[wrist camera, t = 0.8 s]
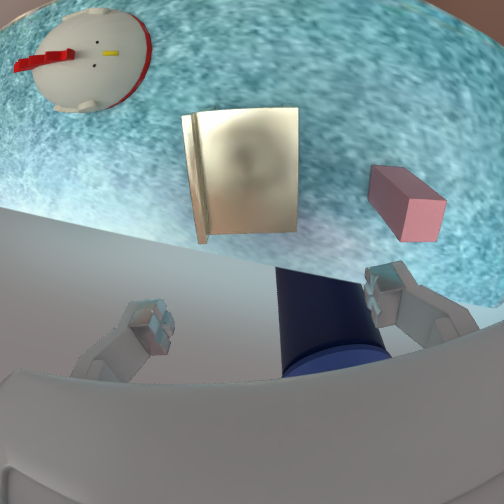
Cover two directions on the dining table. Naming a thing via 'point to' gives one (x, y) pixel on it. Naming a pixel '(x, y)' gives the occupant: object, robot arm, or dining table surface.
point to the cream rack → (243, 169)
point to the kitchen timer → (90, 60)
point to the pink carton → (406, 204)
